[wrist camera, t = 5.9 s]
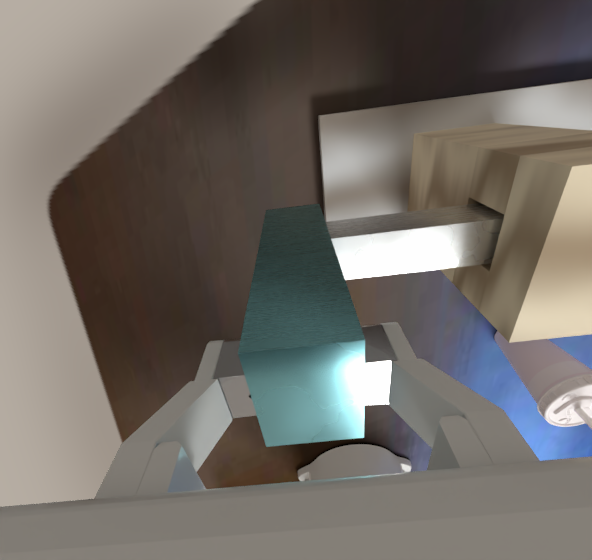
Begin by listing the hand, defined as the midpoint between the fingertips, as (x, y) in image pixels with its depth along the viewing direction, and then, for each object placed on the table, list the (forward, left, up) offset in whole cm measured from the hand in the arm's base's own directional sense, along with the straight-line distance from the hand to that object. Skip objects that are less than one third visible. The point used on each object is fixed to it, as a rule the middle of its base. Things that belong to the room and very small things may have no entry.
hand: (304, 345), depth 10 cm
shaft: (0, -12, -9) cm, 15 cm away
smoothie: (-19, -24, -18) cm, 35 cm away
